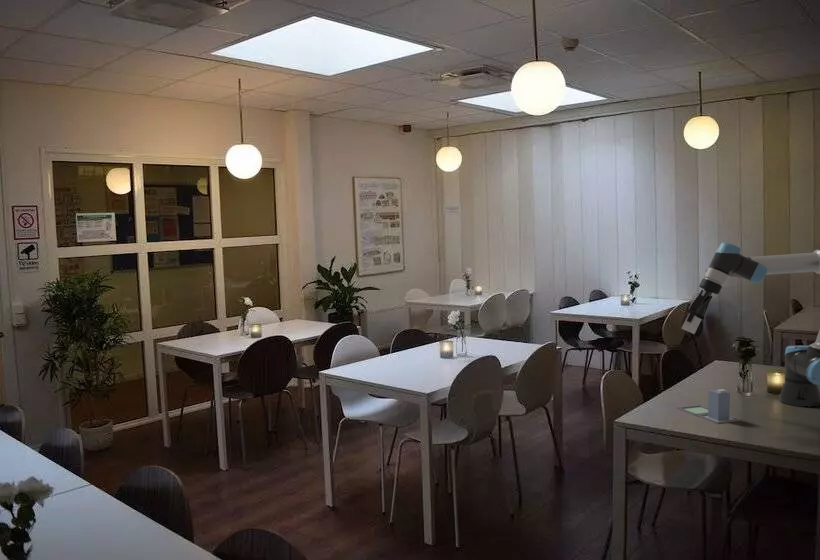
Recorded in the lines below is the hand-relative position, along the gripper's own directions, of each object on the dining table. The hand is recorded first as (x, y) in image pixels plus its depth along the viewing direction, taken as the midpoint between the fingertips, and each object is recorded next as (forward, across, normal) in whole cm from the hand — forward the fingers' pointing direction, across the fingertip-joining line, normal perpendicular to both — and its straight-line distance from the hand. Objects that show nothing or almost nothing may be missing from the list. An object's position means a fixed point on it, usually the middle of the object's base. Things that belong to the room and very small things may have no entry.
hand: (687, 331), depth 264 cm
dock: (+26, +1, +20) cm, 33 cm away
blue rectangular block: (+24, +5, +24) cm, 34 cm away
